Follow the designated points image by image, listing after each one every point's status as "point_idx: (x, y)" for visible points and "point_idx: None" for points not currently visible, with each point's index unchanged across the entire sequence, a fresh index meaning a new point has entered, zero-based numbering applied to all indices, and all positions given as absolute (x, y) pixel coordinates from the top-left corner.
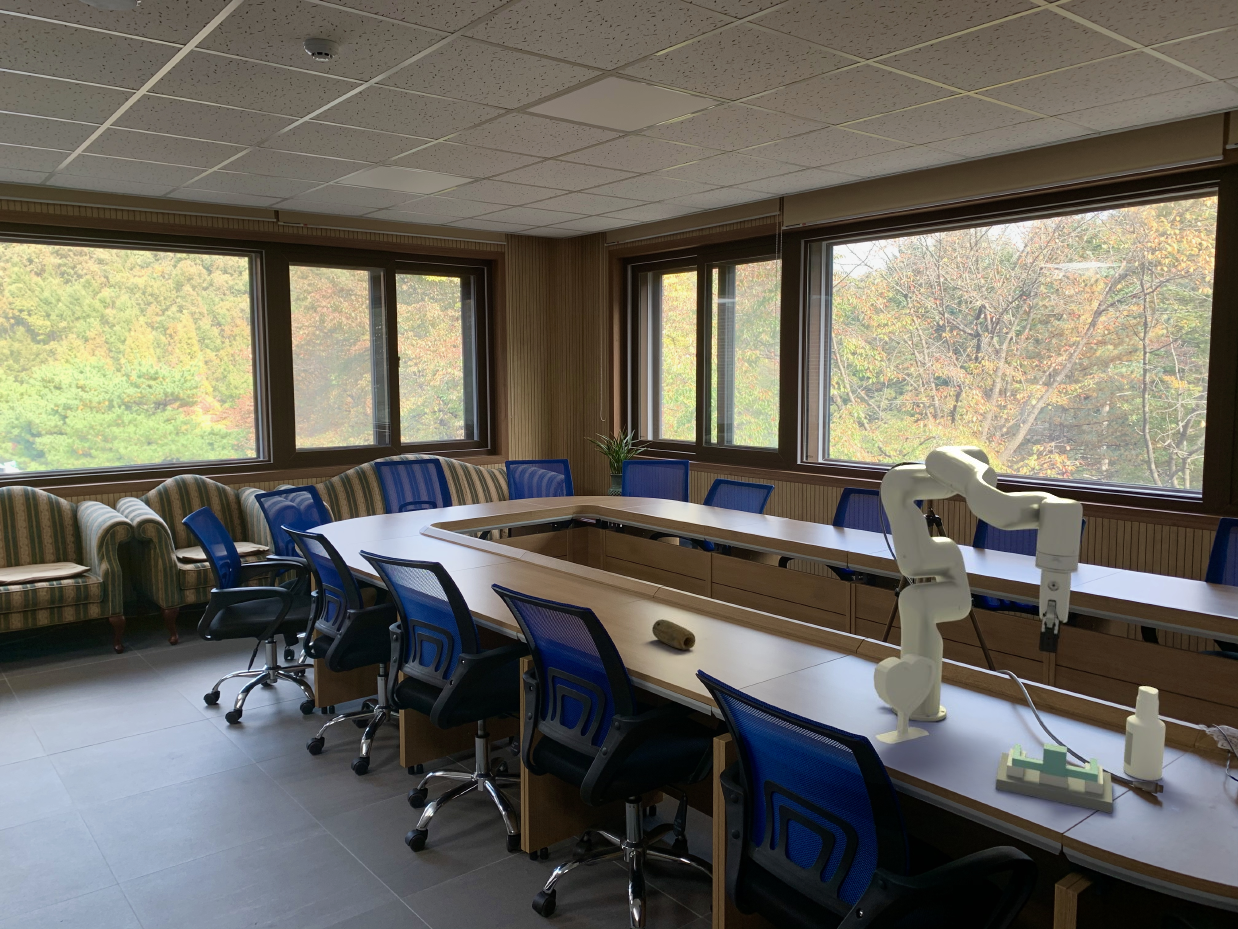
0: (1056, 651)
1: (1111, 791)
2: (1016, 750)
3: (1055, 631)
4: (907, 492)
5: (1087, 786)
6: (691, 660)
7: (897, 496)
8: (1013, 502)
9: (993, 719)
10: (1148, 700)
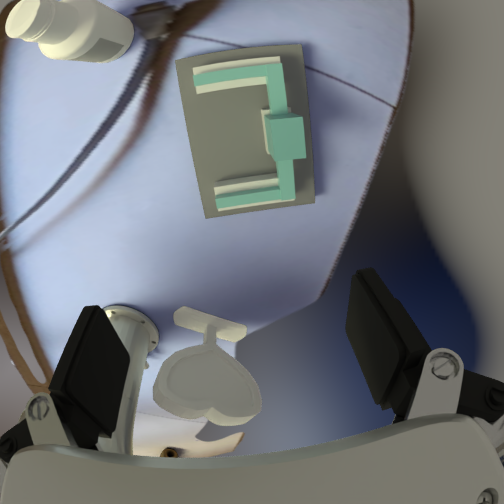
0: (373, 272)
1: (255, 47)
2: (247, 200)
3: (456, 367)
4: None
5: None
6: (185, 444)
7: None
8: None
9: (70, 259)
10: (51, 8)
